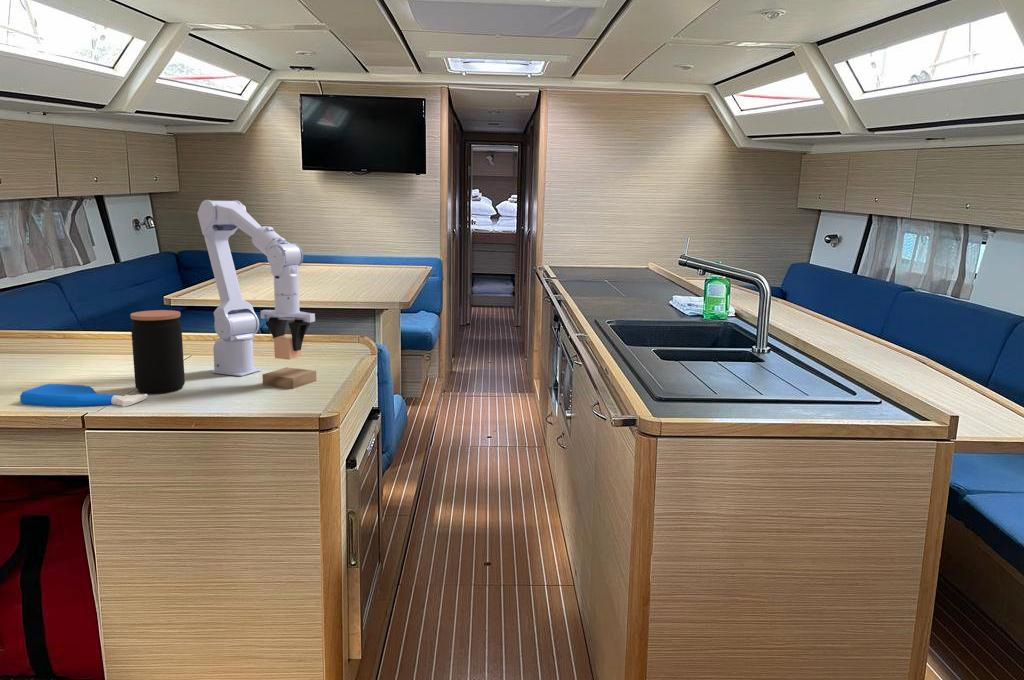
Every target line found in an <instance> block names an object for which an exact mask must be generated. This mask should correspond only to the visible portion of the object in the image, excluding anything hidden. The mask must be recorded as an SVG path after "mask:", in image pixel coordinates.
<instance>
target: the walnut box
mask: <svg viewBox="0 0 1024 680" xmlns="http://www.w3.org/2000/svg"><path fill="white" fill-rule="evenodd" d="M315 382H317V370H312V369H303V368H293V367H287V366H286V367H284V368H283V367H282V368H280V369H276V370H273V371H270V372H266V373H263V374H262V385H263V386H268V387H276V388H282V389H283V388H284V389H285V388H286V389H293V390H294V389H297V388H299V387H303V386H306V385H309V384H312V383H315Z"/></svg>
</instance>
